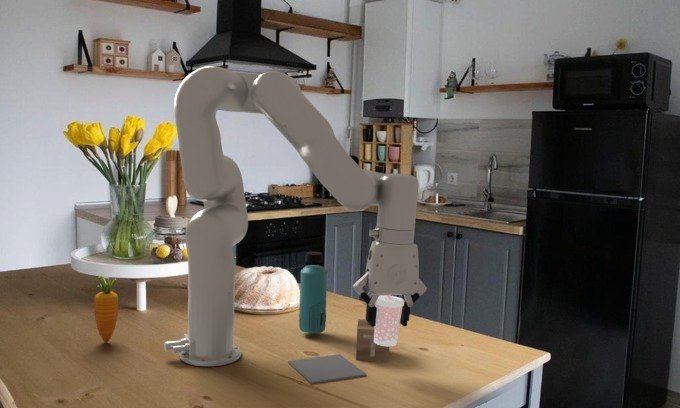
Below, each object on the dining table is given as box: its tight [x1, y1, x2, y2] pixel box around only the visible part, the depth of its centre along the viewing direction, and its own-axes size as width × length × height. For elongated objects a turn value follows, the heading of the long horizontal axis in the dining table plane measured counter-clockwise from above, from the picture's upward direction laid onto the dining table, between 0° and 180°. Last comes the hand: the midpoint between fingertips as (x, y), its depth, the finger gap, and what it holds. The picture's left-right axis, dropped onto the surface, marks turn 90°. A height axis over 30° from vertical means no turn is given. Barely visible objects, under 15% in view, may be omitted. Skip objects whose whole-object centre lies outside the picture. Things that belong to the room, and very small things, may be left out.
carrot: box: [93, 275, 119, 344], centre depth 140 cm, size 5×5×15 cm
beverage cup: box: [374, 295, 404, 348], centre depth 128 cm, size 6×6×14 cm
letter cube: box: [355, 318, 390, 363], centre depth 139 cm, size 7×7×7 cm
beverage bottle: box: [298, 251, 328, 334], centre depth 151 cm, size 6×7×20 cm
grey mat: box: [287, 353, 367, 385], centre depth 130 cm, size 12×12×1 cm
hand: (387, 323), depth 128 cm, fingers closed on beverage cup, 6 cm apart
